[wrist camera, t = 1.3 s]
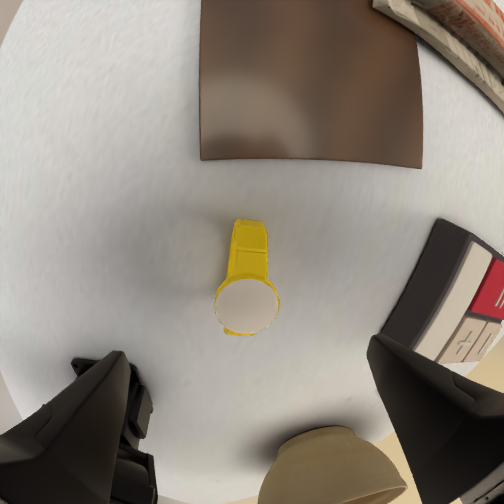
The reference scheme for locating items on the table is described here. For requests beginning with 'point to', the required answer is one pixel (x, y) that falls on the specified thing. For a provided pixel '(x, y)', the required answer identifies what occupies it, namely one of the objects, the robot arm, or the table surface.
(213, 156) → the coaster
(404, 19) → the packaged product
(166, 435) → the table surface
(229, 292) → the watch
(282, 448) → the planter bowl
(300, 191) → the table surface
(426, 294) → the calculator
